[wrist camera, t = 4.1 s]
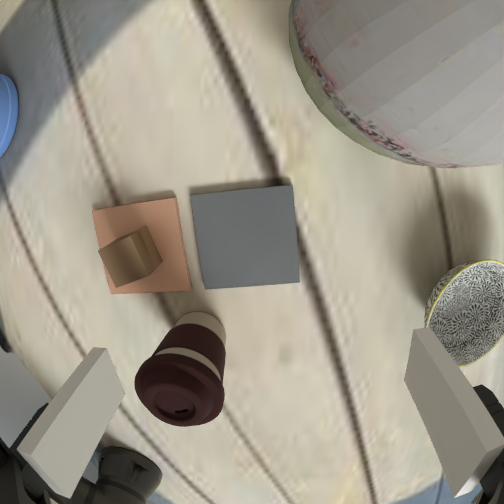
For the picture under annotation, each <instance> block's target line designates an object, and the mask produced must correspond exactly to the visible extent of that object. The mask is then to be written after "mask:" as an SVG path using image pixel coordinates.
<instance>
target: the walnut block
mask: <svg viewBox="0 0 504 504" xmlns="http://www.w3.org/2000/svg"><path fill="white" fill-rule="evenodd" d="M98 252H99V254H100V256H101V258H102V260H103V263H104V265H105V267H106V269H107V271H108V273H109V275H110V277H111V279H112V281H113V283H114V285H115V287H116V288H118V287H121V286H123V285H126V284H129V283H131V282H134V281H137V280H139V279H142V278H145V277H148V276H150V275H151V273H152V272H153V271H154V270H155V269H156V268H157V267H158V266H159V265H160V264H161V263H162V262H163V261H162V258H161V256H160V254H159V252H158V250H157V248H156V245H155V243H154V241H153V239H152V236H151V234H150V232H149V230H148V228H147V226H145V227H142V228H140V229H138V230H136V231H133V232H131V233H129V234H127V235H125V236H122V237H120V238H118V239H116V240H114V241H113V242H111V243H109V244H108V245H106V246H105V247H103V248H102V249H100V250H99V251H98Z"/></svg>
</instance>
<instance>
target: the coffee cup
mask: <svg viewBox="0 0 504 504" xmlns="http://www.w3.org/2000/svg"><path fill="white" fill-rule="evenodd" d="M225 342H226V333H225V330H224V328H223V326H222V324H221V323H220V322H219V321H218V320H217V319H216V318H215V317H213V316H211V315H209V314H207V313H203V312H191V313H188V314H185V315H184V316H182V317H181V318H180V319H179V320H178V322H177V323H176V324H175V326H174V327H173V328H172V329H171V330H170V331H169V332H168V333H167V335H166V336H165V337H164V339H163V340H162V342H161V343H160V345H159V346H158V348H157V349H156V350H155V352H154V353H153V355H152V356H151V357H150V358H149V359H147V360H146V361H145V362H144V363H143V364H142V365H141V367H140V369H139V370H138V372H137V374H136V376H135V390H136V393H137V395H138V397H139V399H140V400H141V402H142V403H143V404H144V406H145V407H146V408H147V409H148V410H149V411H150V412H151V413H152V414H153V415H154V416H155V417H157V418H158V419H160V420H161V421H163V422H165V423H168V424H171V425H175V426H184V427H185V426H194V425H201V424H205V423H207V422H210V421H212V420H213V419H215V418H216V417H217V416H218V415H219V413H220V412H221V410H222V407H223V402H224V396H225V394H224V388H223V385H222V384H223V375H224V366H225V356H226V352H225Z"/></svg>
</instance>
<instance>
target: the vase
mask: <svg viewBox="0 0 504 504" xmlns="http://www.w3.org/2000/svg"><path fill="white" fill-rule="evenodd" d="M289 41H290V47H291V51H292V55H293V59H294V63H295V67H296V70H297V73H298V75H299V77H300V79H301V81H302V83H303V86H304V88H305V90H306V92H307V93H308V95H309V96H310V98H311V99H312V101H313V102H314V103H315V105H316V106H317V108H318V109H319V111H320V112H321V113H322V114H323V115H324V116H325V117H326V118H327V119H328V120H329V121H330V122H331V123H332V124H333V125H334V126H335V127H336V128H337V129H339V130H340V131H341V132H343V133H344V134H345V135H347V136H348V137H349V138H351V139H352V140H353V141H355V142H356V143H358V144H360V145H362V146H364V147H366V148H368V149H370V150H372V151H374V152H375V153H377V154H380V155H383V156H386V157H389V158H392V159H395V160H398V161H401V162H404V163H407V164H413V165H421V166H429V167H437V168H460V167H476V166H488V165H498V164H502V163H504V0H291V4H290V9H289Z"/></svg>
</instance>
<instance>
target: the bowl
mask: <svg viewBox="0 0 504 504" xmlns="http://www.w3.org/2000/svg"><path fill="white" fill-rule="evenodd" d="M426 327H430V329H431V330H432V331H433V333H434V334H435V335H436V337H437V338H438V339H439V341H440V342H441V343H442V345H443V346H444V347H445V349H446V350H447V352H448V353H449V354H450V356H451V357H452V358H453V360H454V361H455V363H456V364H457V366H458V367H464V366H467V365H470V364H472V363H474V362H476V361H478V360H479V359H481V358H483V357H484V356H485V355H487V354H488V353H489V352H490V351H491V350H492V349H493V348H494V347H495V346H496V345H497V344H498V343H499V342H500V340H501V339H502V338H503V336H504V264H503V263H502V262H500V261H496V260H481V261H478V262H468V263H464V264H461V265H459V266H457V267H455V268H453V269H451V270H450V271H449V272H447V273H446V274H445V275H444V276H443V277H442V278H441V279H440V280H439V281H438V283H437V284H436V285H435V287H434V288H433V290H432V292H431V294H430V296H429V299H428V302H427V306H426V310H425V328H426Z"/></svg>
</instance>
